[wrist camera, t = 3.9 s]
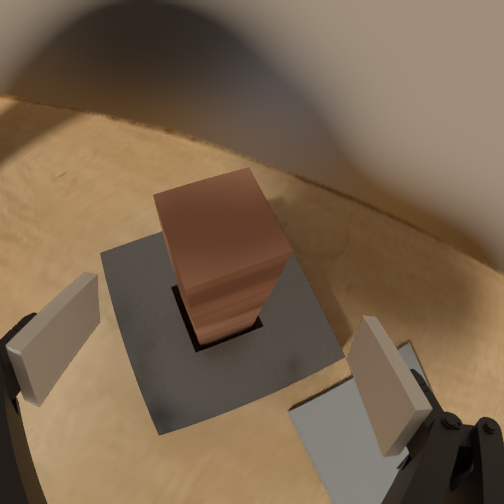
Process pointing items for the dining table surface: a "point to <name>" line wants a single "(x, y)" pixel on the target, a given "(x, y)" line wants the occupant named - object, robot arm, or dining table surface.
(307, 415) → the mat
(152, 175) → the dining table surface
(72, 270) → the dining table surface
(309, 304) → the socket block
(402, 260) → the dining table surface
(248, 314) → the peg
